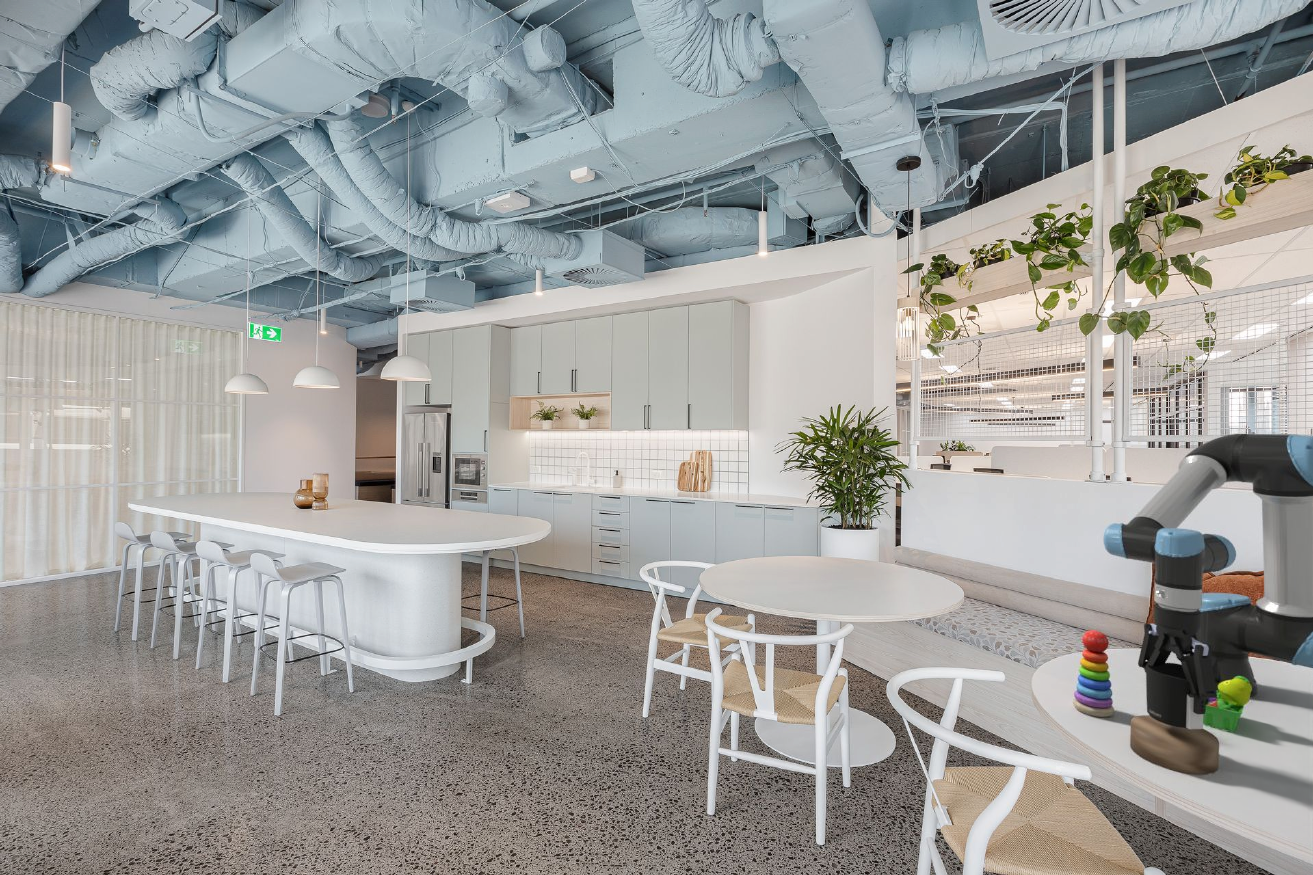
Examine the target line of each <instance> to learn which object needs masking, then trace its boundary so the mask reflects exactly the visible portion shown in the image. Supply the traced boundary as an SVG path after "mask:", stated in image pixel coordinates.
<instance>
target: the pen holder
mask: <svg viewBox="0 0 1313 875" xmlns="http://www.w3.org/2000/svg"><path fill="white" fill-rule="evenodd" d="M1145 678H1146V680H1145V682H1146V683H1145V684H1146V685H1145V688H1146V694H1145V695H1146V712H1147V715H1150V716H1151V717H1152V718H1153V719H1155V720H1157V721H1159V722H1162V723H1164V724H1167V725H1171V726H1175V727H1181V728H1186V715H1187V695H1188V694H1191V692H1190V689H1189V681H1187V680H1186V676H1185V673H1184V670H1183V667H1182V664H1181V663H1176V662H1175V663H1174V662H1166V663H1165V664H1164V665H1161V666H1150V665H1146V672H1145ZM1197 691H1199V689H1197Z"/></svg>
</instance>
